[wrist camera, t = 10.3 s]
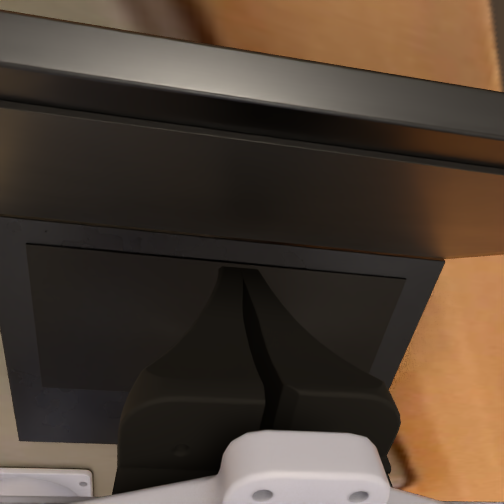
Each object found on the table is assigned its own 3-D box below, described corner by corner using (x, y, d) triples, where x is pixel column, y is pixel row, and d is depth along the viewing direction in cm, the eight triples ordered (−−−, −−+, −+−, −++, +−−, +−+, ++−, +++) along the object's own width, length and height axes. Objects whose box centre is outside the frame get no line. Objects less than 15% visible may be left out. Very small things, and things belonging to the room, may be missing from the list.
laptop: (354, 430, 28) (361, 453, 27) (29, 417, 26) (17, 443, 24) (431, 244, 22) (447, 262, 20) (-3, 198, 19) (-21, 215, 17)
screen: (1013, 221, 6) (1010, 174, 6) (-835, -46, 3) (-814, -127, 4) (446, 261, 20) (446, 246, 20) (-20, 214, 17) (-18, 197, 17)
